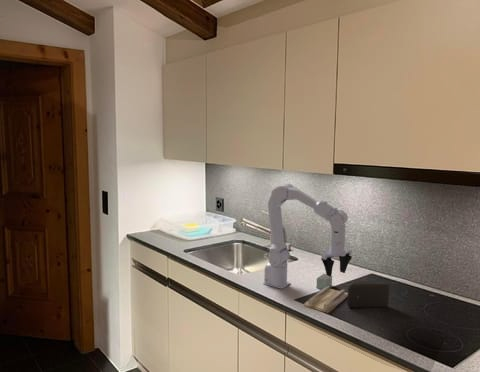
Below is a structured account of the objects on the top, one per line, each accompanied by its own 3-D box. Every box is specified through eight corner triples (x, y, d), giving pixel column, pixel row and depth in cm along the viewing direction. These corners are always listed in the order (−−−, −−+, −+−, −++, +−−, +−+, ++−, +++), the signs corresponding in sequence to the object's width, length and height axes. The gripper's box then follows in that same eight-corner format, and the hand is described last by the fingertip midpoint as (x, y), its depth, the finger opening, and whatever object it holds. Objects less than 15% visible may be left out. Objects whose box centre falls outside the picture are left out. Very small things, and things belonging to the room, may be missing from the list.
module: (316, 288, 172) (316, 278, 171) (323, 283, 177) (323, 273, 177) (325, 290, 169) (325, 280, 169) (331, 285, 175) (332, 275, 174)
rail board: (304, 306, 154) (304, 299, 153) (325, 289, 170) (325, 284, 169) (328, 313, 148) (328, 306, 147) (348, 295, 164) (348, 289, 164)
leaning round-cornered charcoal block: (383, 302, 158) (385, 279, 156) (389, 307, 153) (390, 284, 152) (343, 304, 156) (345, 280, 155) (348, 309, 151) (349, 285, 150)
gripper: (331, 246, 152) (329, 280, 154) (357, 241, 160) (356, 273, 162) (318, 241, 158) (317, 274, 160) (344, 237, 166) (343, 268, 168)
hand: (335, 273), depth 161 cm, fingers open, 7 cm apart
